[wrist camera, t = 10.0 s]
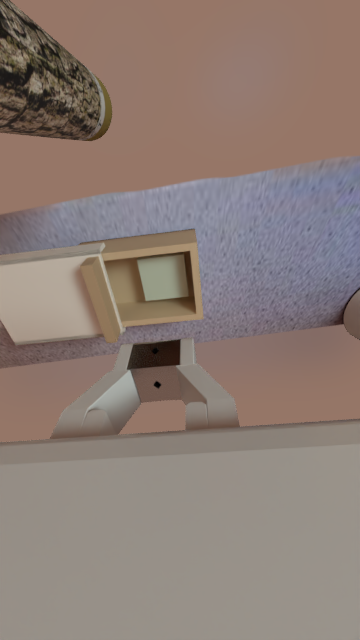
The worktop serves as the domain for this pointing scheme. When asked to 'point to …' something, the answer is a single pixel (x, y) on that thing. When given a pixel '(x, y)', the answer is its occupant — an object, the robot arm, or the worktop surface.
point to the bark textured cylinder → (46, 84)
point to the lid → (58, 296)
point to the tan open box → (154, 277)
